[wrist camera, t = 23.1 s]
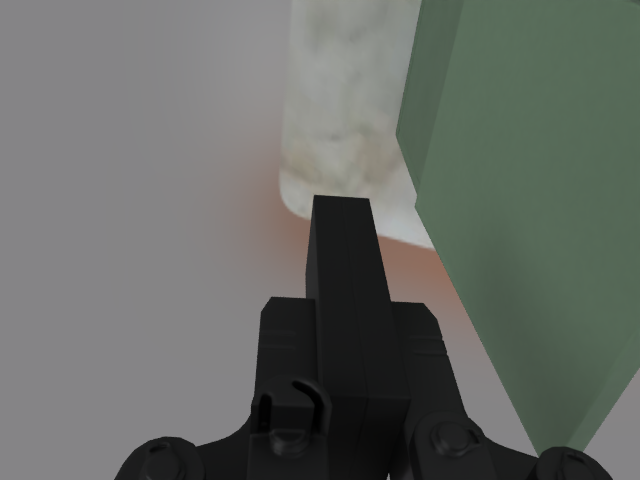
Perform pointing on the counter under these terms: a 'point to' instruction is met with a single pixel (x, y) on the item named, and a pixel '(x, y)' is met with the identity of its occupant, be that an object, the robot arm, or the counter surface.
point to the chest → (426, 81)
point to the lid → (544, 202)
